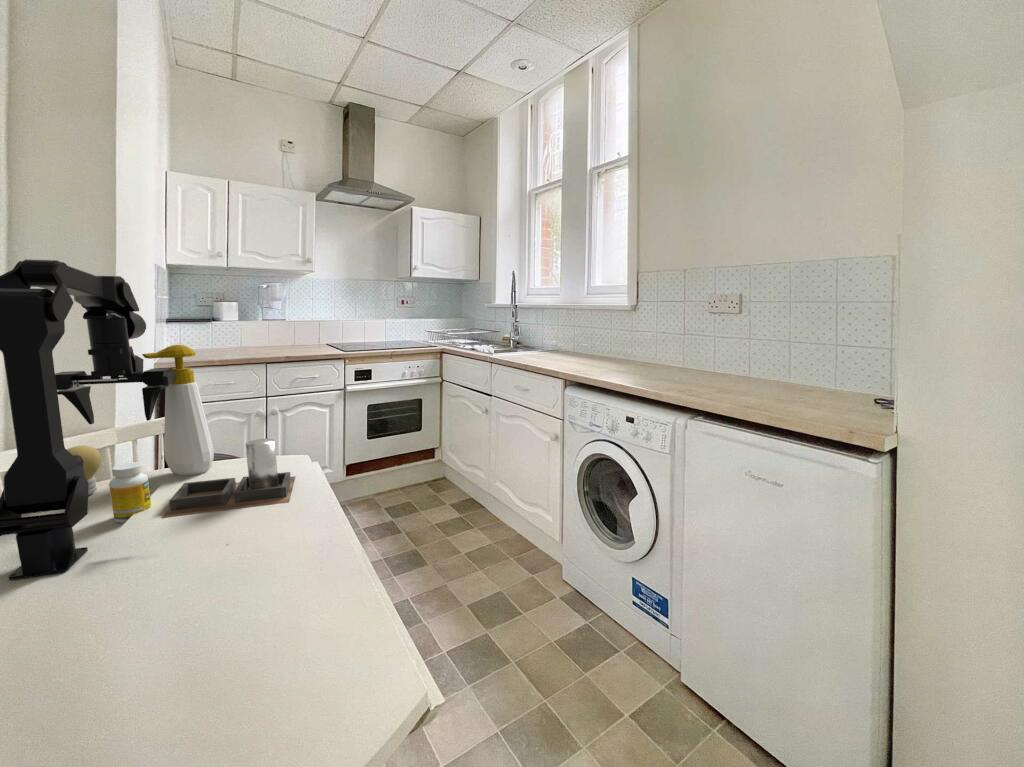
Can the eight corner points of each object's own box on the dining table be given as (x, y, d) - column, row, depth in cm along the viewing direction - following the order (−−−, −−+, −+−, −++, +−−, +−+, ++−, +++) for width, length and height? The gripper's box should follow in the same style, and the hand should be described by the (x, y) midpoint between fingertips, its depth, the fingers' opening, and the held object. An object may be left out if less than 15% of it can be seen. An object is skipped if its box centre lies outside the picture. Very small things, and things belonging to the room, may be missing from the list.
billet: (277, 494, 90) (273, 444, 89) (247, 498, 89) (243, 447, 87) (280, 485, 95) (276, 437, 93) (252, 488, 93) (248, 440, 92)
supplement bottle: (114, 515, 84) (107, 464, 83) (151, 507, 88) (145, 458, 86) (114, 526, 80) (106, 473, 79) (153, 517, 84) (146, 466, 82)
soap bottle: (147, 477, 103) (129, 345, 98) (199, 464, 111) (185, 342, 106) (172, 490, 96) (155, 348, 91) (225, 475, 104) (212, 345, 99)
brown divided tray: (289, 509, 87) (288, 491, 87) (161, 526, 80) (159, 507, 80) (296, 482, 100) (294, 467, 100) (186, 495, 93) (184, 478, 93)
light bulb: (85, 501, 90) (78, 451, 89) (53, 500, 90) (45, 451, 89) (114, 488, 97) (107, 441, 95) (84, 488, 97) (76, 441, 95)
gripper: (180, 338, 100) (188, 410, 103) (70, 340, 94) (82, 416, 96) (162, 343, 90) (171, 421, 92) (37, 345, 84) (51, 429, 86)
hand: (120, 421), depth 92 cm, fingers open, 9 cm apart
